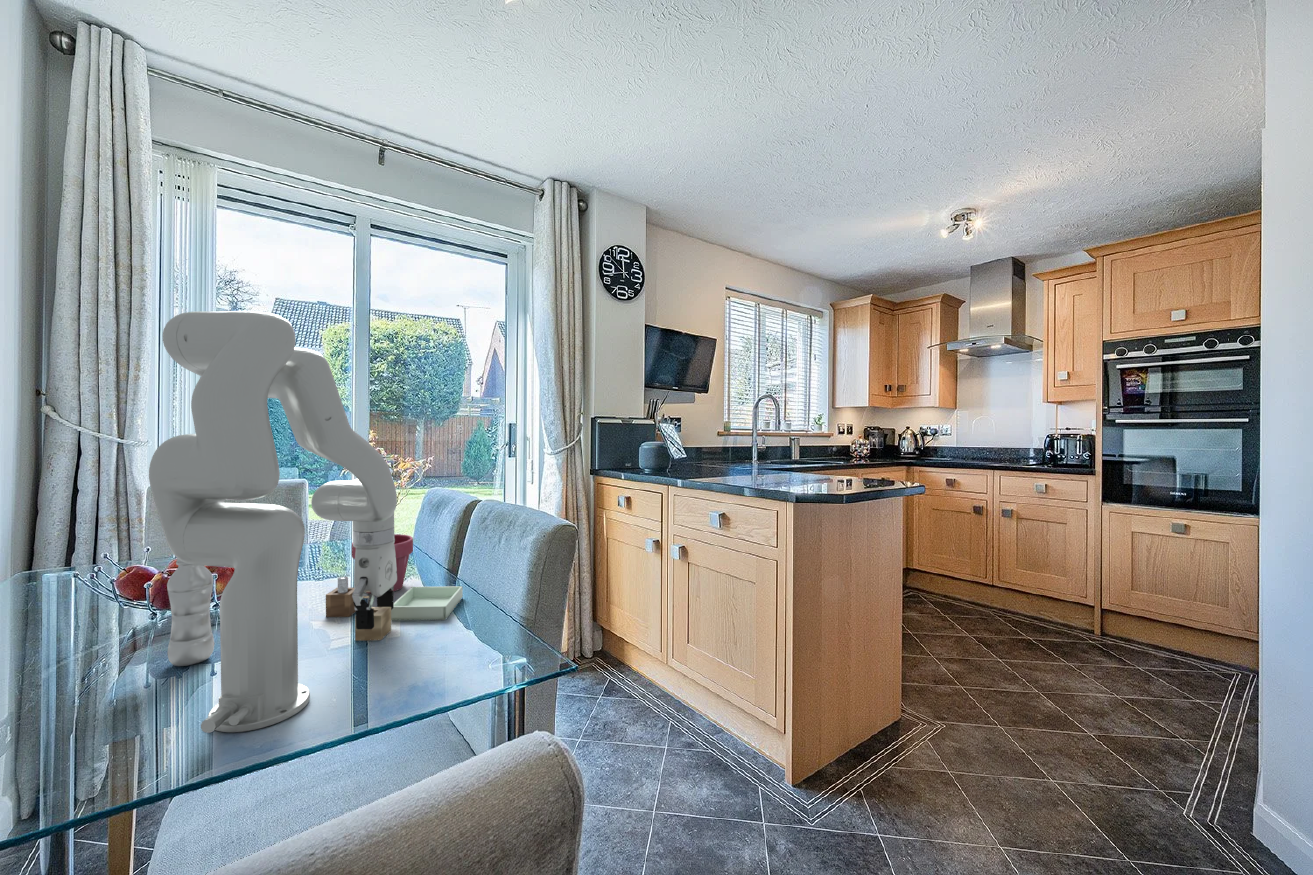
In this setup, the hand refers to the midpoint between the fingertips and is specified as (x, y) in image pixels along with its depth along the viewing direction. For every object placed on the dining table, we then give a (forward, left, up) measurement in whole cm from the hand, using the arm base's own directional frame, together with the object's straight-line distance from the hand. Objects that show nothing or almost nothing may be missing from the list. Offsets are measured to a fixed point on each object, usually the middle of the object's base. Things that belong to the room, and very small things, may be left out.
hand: (375, 618), depth 113 cm
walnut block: (+12, +12, -3) cm, 18 cm away
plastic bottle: (-12, +27, -3) cm, 30 cm away
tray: (+14, -6, -3) cm, 16 cm away
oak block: (-1, 0, -3) cm, 3 cm away
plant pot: (+29, +10, -3) cm, 31 cm away
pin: (+12, +12, -3) cm, 17 cm away
